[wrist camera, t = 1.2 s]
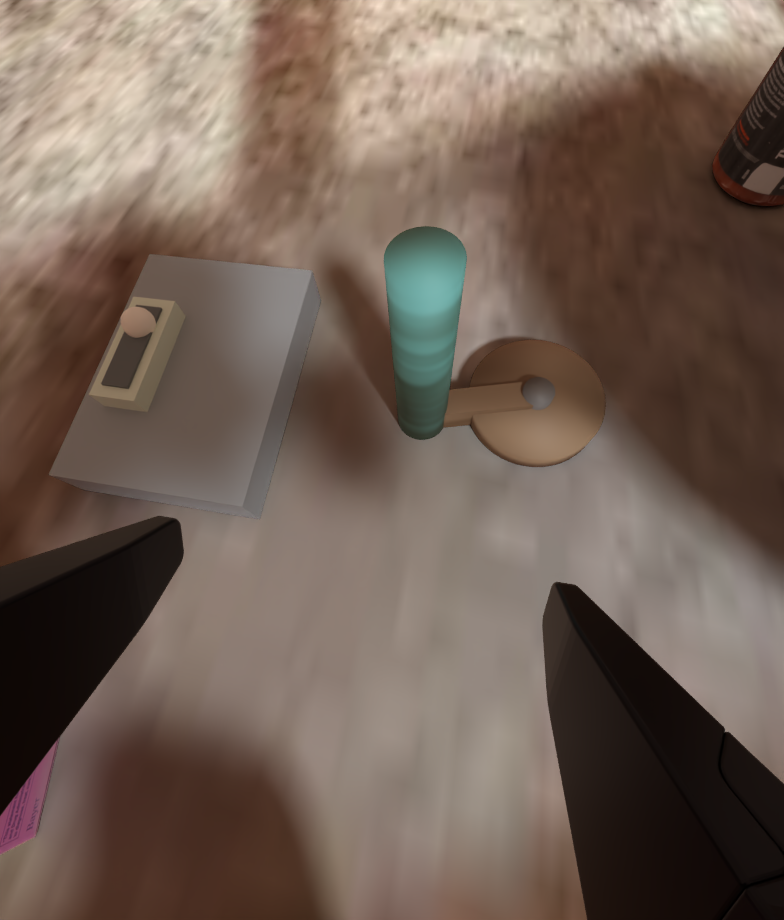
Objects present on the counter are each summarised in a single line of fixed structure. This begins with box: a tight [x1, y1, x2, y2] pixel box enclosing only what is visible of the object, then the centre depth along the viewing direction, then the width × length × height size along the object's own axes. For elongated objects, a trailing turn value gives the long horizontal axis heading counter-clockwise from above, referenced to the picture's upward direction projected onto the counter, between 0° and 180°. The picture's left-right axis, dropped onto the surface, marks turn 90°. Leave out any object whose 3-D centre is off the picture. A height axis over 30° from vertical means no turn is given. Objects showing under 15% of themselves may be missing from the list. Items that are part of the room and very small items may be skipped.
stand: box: [49, 254, 321, 519], centre depth 24 cm, size 14×10×5 cm
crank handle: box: [384, 226, 606, 467], centre depth 20 cm, size 7×11×12 cm, turn 80°
